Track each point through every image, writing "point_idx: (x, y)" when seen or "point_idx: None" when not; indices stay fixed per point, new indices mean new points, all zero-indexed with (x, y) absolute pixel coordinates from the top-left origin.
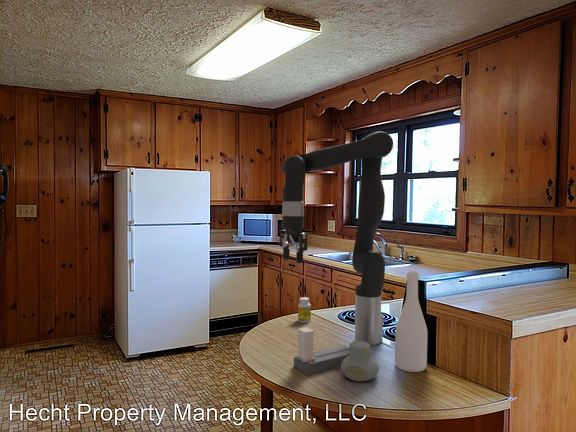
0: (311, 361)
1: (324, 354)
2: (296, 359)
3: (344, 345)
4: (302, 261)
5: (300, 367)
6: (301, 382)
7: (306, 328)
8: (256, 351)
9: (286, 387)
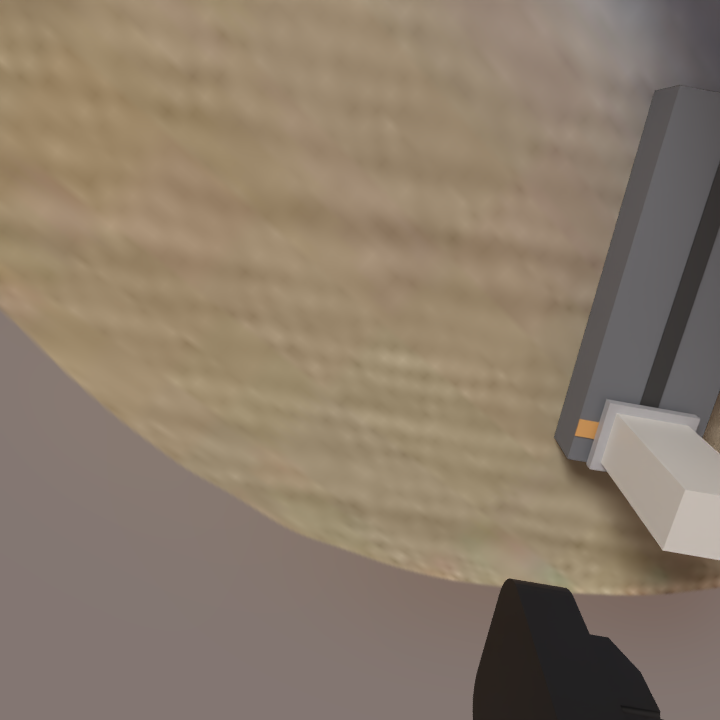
0: None
1: (677, 312)
2: None
3: (685, 88)
4: (570, 607)
5: None
6: None
7: (705, 506)
8: (268, 447)
9: (677, 591)
